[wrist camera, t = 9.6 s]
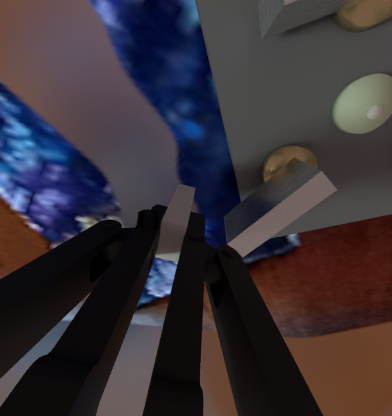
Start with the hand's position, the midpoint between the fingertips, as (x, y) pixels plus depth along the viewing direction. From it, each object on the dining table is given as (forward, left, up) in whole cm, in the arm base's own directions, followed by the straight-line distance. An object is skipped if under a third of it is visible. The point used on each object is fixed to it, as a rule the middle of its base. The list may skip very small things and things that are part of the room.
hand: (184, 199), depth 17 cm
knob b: (+2, +7, -2) cm, 8 cm away
